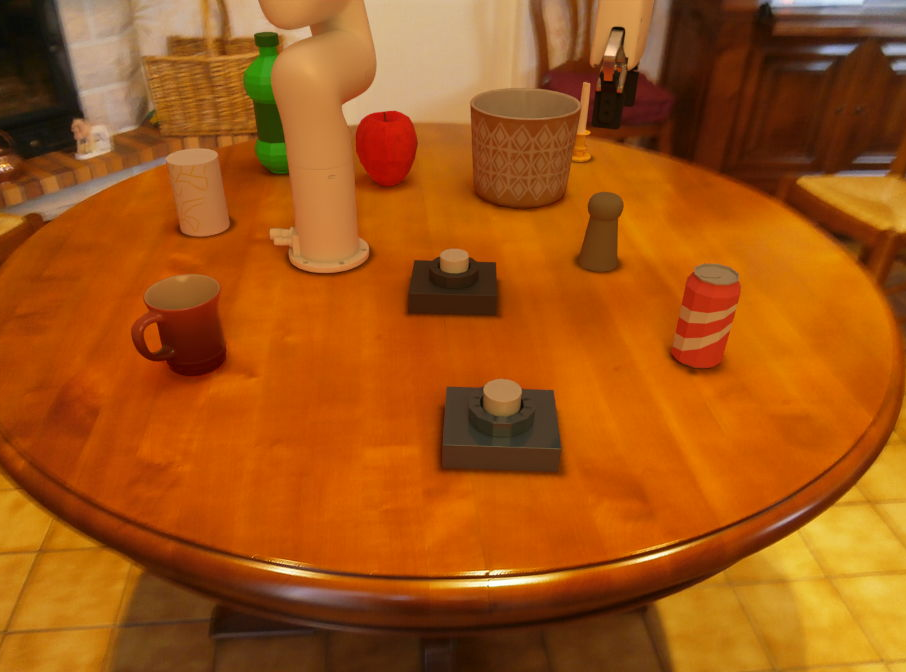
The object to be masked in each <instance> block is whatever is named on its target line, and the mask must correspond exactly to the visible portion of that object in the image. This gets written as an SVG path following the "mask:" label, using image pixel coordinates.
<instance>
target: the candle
mask: <svg viewBox="0 0 906 672" xmlns="http://www.w3.org/2000/svg"><path fill="white" fill-rule="evenodd" d="M581 87H582V88H581V94H580V103H581V105H582V108H581V113H580V119H579V124H578V129H577V135H576V140H575V146H574V151H573V157H572V162H573V163H574V162H575V163H586V162H588V161H590V160H591V158H592V155H591V154H590V153H588V152H585V151H586V150H587V149H588V145H586V141H587V139H586V137H587V136H589V135H590V134H591V131H590V130H588V129H587V121H588V114H589V113H588V111H589V103H590V96H591V95H590V94H591V83H590V82H587V81H583V83H582V86H581Z"/></svg>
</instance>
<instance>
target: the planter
mask: <svg viewBox="0 0 906 672" xmlns="http://www.w3.org/2000/svg"><path fill="white" fill-rule="evenodd" d="M580 102H581V100H579V99H578V98H576V97H575V96H572V95H570V94H567V93H564V92H561V91H556V90H550V89H544V88H534V87H506V88H499V89H497V88H496V89H492V90H491V89H490V90H488V91H484V92H483V91H482V92H481V93H478V94H476V95H474V96H473V97H472V98H471V99H470V102H469V104H470V105H469V107H470V129H471V131H470V132H471V133H470V134H471V153H472V154H471V155H472V156H471V157H472V180H473V181H472V182H473V188H474V190H475V192H476V194H477V195H478V196H479V197H480V198H481V199H483V200H485V201H487V202H489V203H491V204H494V205H497V206H500V207H505V208H511V209H513V208H514V209H534V208H540V207H541V208H542V207H545V206H549V205H551V204H554V203H555V202H557V201H559V200H560V199H562V198H563V196H564V195H565V193H566V191H567V189H568V183H569V178H570V172H571V166H572V162H573V161H572V157H573V151H574V146H575V140H576V135H577V129H578V124H579V119H580V113H581V108H582V105H581V103H580Z"/></svg>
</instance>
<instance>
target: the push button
mask: <svg viewBox="0 0 906 672" xmlns="http://www.w3.org/2000/svg"><path fill="white" fill-rule="evenodd" d="M439 257H440V270H441V271H444V272H447V273H462V272H466V271H467V270H468V266H469V257H470V255H469V252H468V251H466V250H464V249H461V248H448V249H444V250H442V251H441V252H440V253H439Z"/></svg>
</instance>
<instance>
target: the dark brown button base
mask: <svg viewBox="0 0 906 672" xmlns="http://www.w3.org/2000/svg"><path fill="white" fill-rule="evenodd" d="M497 281H498V280H497V262H496V261H477V260H476V259H474V258H473V257H470V256H469V266H468V270H467V271H466V272H462V273H447V272H444V271H441V270H440V256H436V257H435V258H434V259H432V260H427V259H426V260H425V259H422V260H421V259H414V260H413V266H412V271H411V278H410V284H409V290H408V313H409V314H421V315H422V314H424V315H425V314H426V315H428V314H429V315H430V314H431V315H456V316H457V315H460V316H462V315H463V316H464V315H465V316H492V317H493V316H495V317H497V307H498V306H497V304H498V303H497V302H498V282H497Z"/></svg>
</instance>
